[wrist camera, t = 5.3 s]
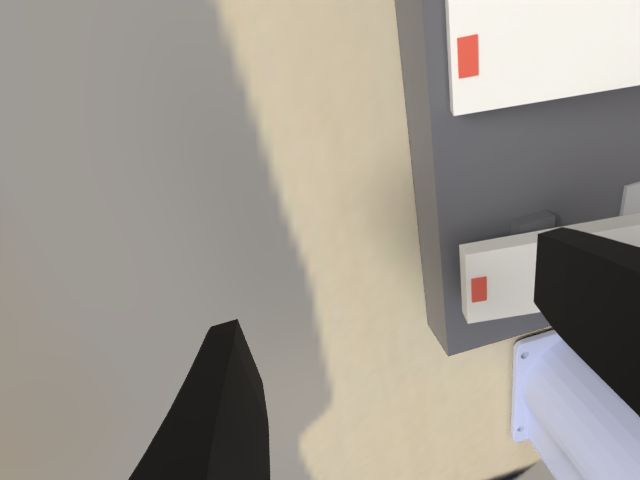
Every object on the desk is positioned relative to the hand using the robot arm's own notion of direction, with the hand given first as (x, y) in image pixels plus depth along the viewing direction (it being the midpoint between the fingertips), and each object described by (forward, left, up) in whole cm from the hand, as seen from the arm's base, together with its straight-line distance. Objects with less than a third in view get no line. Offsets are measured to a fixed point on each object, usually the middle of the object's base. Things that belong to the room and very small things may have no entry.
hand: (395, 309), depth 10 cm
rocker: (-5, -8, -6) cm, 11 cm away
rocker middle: (+4, -8, -6) cm, 11 cm away
